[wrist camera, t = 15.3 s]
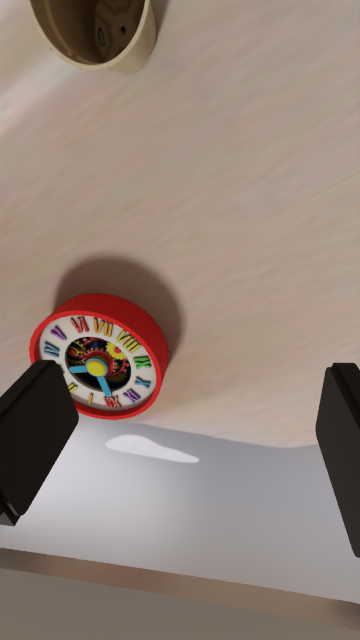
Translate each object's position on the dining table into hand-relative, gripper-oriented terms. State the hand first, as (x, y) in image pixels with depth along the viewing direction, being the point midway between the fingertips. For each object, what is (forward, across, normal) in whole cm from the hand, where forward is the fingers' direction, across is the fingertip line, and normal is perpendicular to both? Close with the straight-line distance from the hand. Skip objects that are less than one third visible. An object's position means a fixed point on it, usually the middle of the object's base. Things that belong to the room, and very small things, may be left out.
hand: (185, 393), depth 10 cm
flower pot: (+28, +8, -19) cm, 35 cm away
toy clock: (+29, +18, +18) cm, 38 cm away
